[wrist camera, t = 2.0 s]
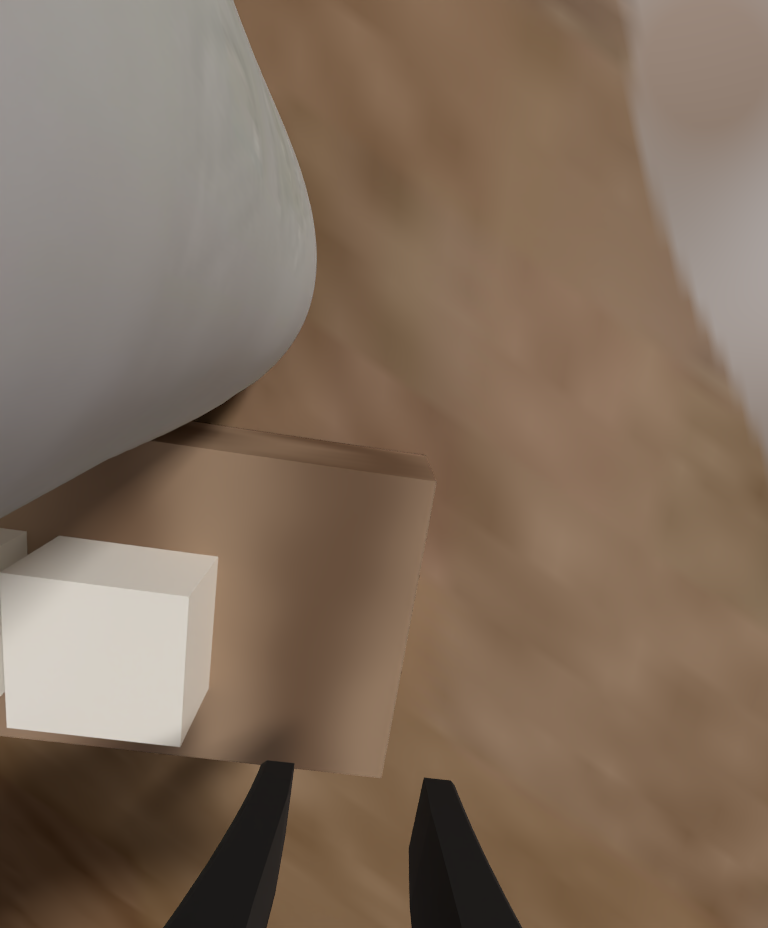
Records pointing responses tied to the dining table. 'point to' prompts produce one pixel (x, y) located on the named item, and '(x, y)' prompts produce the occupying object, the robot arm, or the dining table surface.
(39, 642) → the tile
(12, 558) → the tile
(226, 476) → the tan flat block
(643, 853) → the dining table surface
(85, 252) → the glass bottle
